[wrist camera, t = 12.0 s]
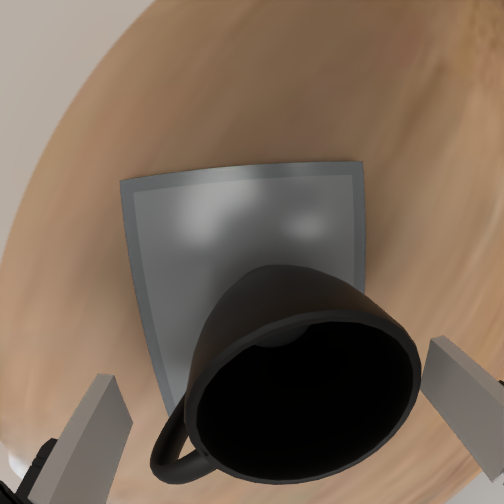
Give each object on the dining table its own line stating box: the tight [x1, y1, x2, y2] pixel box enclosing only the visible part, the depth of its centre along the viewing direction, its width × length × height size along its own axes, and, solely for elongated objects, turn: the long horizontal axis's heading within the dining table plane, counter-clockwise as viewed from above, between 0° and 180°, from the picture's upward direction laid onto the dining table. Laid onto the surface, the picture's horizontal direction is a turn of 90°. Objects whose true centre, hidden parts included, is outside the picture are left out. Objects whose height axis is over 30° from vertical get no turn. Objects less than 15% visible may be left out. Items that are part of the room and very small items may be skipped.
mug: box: [150, 265, 421, 485], centre depth 13 cm, size 8×12×10 cm
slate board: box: [120, 161, 366, 418], centre depth 18 cm, size 18×14×1 cm
